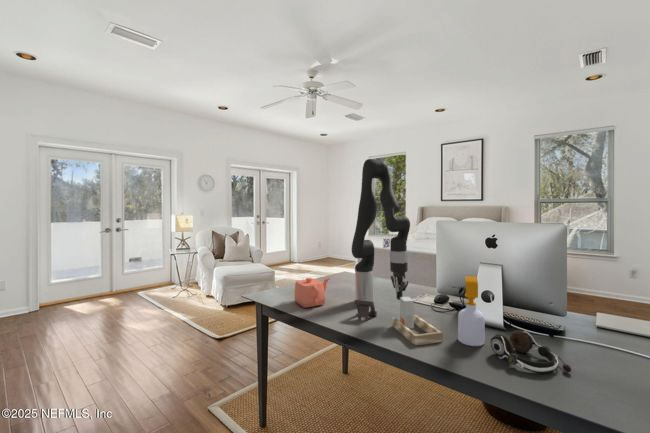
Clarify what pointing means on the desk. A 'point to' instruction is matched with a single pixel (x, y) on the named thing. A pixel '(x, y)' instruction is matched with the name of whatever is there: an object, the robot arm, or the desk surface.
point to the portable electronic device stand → (365, 309)
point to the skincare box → (407, 312)
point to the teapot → (310, 292)
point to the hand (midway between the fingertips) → (399, 299)
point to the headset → (524, 344)
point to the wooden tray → (419, 339)
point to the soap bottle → (471, 317)
